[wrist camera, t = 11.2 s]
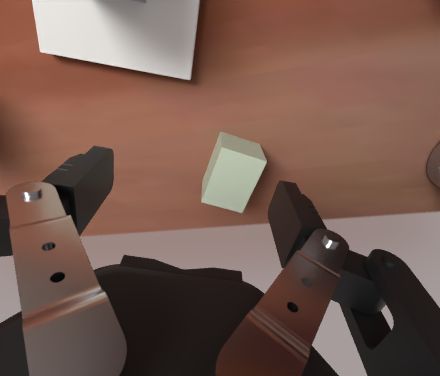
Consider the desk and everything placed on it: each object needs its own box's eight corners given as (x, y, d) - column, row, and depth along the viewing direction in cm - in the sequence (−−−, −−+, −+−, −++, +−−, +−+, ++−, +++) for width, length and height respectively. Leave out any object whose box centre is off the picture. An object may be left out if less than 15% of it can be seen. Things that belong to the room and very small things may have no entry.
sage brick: (259, 143, 31) (267, 161, 27) (238, 190, 34) (242, 213, 30) (220, 130, 30) (221, 147, 26) (202, 180, 33) (201, 202, 29)
